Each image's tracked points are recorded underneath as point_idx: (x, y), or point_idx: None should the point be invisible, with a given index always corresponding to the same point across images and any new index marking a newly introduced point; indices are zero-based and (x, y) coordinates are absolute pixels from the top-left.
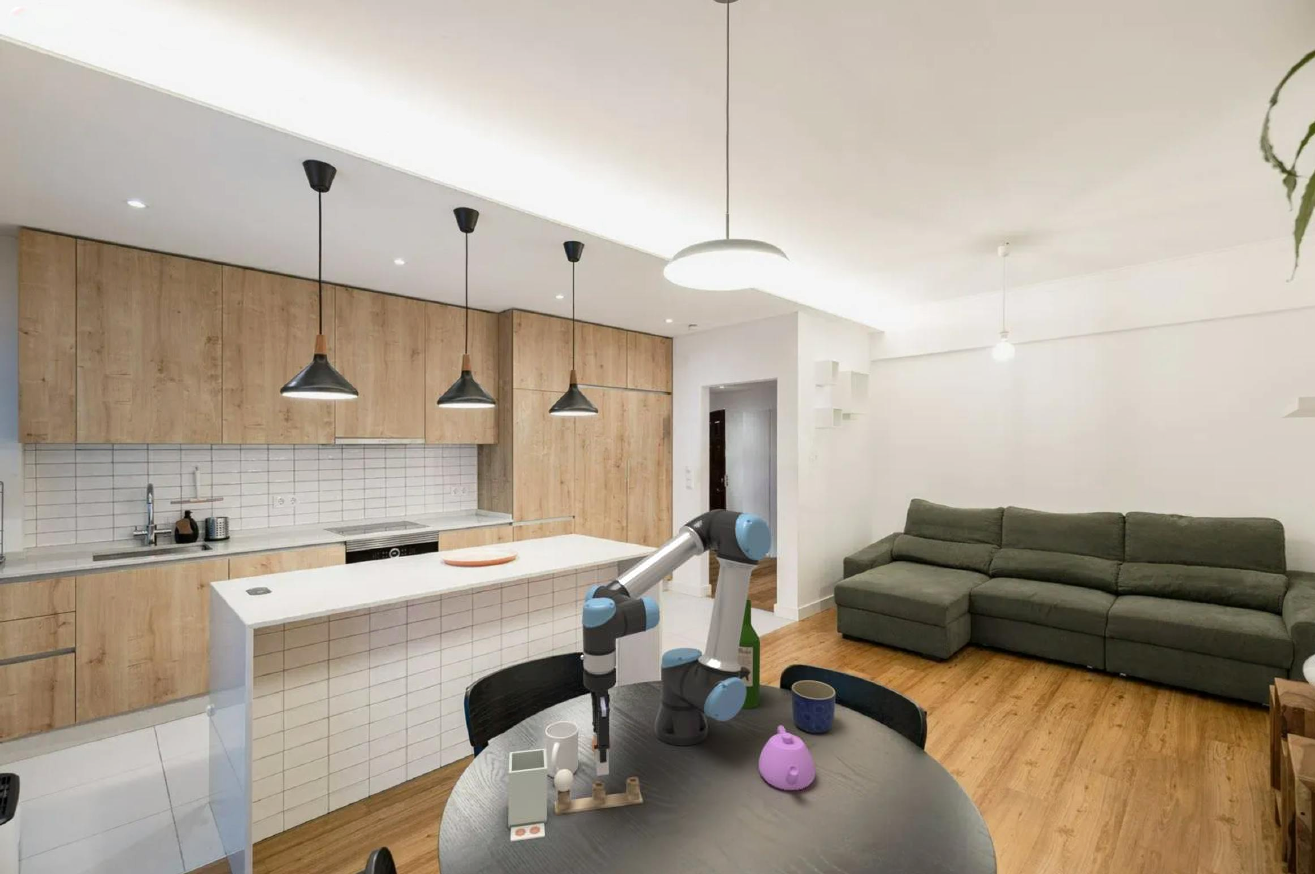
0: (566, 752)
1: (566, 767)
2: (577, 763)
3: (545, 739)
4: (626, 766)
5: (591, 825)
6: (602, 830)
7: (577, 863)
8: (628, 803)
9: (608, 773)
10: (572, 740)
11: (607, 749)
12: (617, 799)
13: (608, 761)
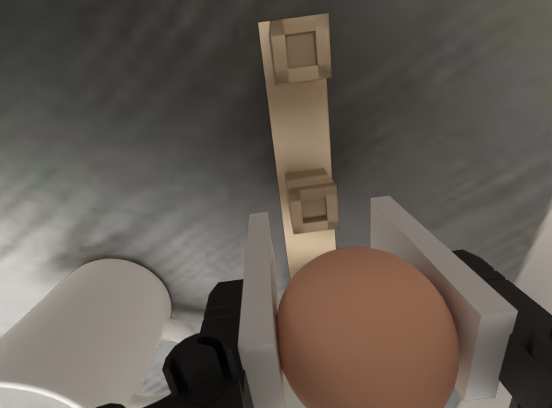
0: (133, 353)
1: (156, 308)
2: (111, 270)
3: None
4: (68, 73)
5: (403, 205)
6: (433, 173)
7: (537, 236)
8: (325, 79)
9: (391, 198)
10: (89, 375)
11: (489, 293)
12: (303, 122)
13: (424, 229)
